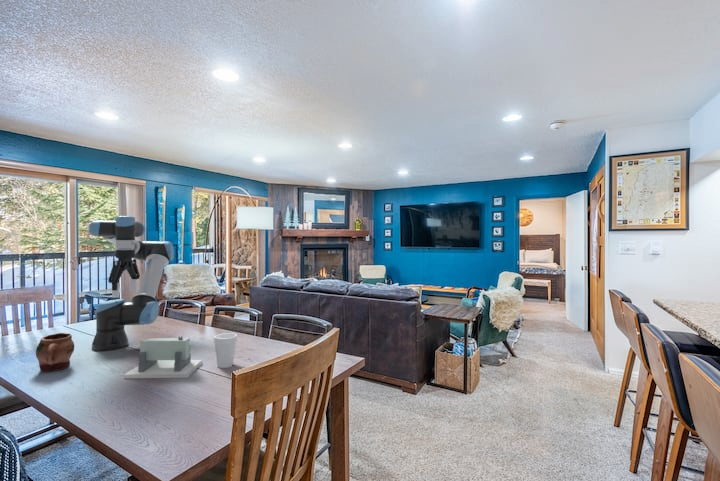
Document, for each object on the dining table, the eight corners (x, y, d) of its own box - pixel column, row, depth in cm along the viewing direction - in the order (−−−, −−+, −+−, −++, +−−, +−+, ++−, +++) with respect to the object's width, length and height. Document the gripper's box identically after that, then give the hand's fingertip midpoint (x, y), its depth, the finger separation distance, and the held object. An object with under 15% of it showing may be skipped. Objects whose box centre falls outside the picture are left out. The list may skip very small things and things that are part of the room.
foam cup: (241, 363, 156) (241, 334, 156) (226, 370, 147) (227, 339, 147) (223, 360, 159) (224, 332, 159) (208, 367, 150) (209, 337, 150)
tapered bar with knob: (145, 357, 148) (145, 336, 148) (189, 356, 149) (189, 335, 149) (140, 360, 144) (140, 338, 144) (185, 359, 145) (185, 338, 145)
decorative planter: (72, 373, 142) (72, 339, 142) (31, 380, 135) (31, 344, 135) (75, 359, 158) (76, 328, 158) (39, 364, 151) (39, 332, 151)
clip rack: (146, 363, 154) (146, 343, 154) (202, 363, 155) (202, 343, 155) (124, 378, 138) (124, 355, 138) (186, 377, 139) (187, 355, 139)
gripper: (116, 250, 150) (116, 299, 150) (148, 248, 175) (147, 290, 175) (98, 250, 150) (98, 299, 150) (132, 248, 175) (132, 290, 175)
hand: (124, 295), depth 162 cm, fingers open, 13 cm apart
